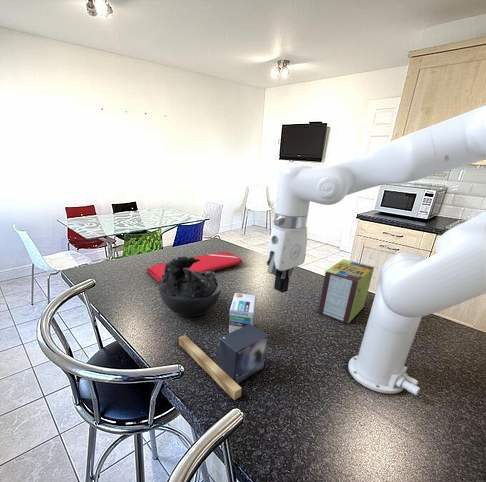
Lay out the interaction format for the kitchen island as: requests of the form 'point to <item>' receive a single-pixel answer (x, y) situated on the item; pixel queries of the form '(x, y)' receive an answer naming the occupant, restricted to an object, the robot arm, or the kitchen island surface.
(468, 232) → the robot arm
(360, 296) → the protein box
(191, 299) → the coal bowl
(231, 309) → the light bulb box
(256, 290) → the kitchen island surface
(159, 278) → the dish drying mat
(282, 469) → the kitchen island surface
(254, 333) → the small box
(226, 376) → the maple rail
